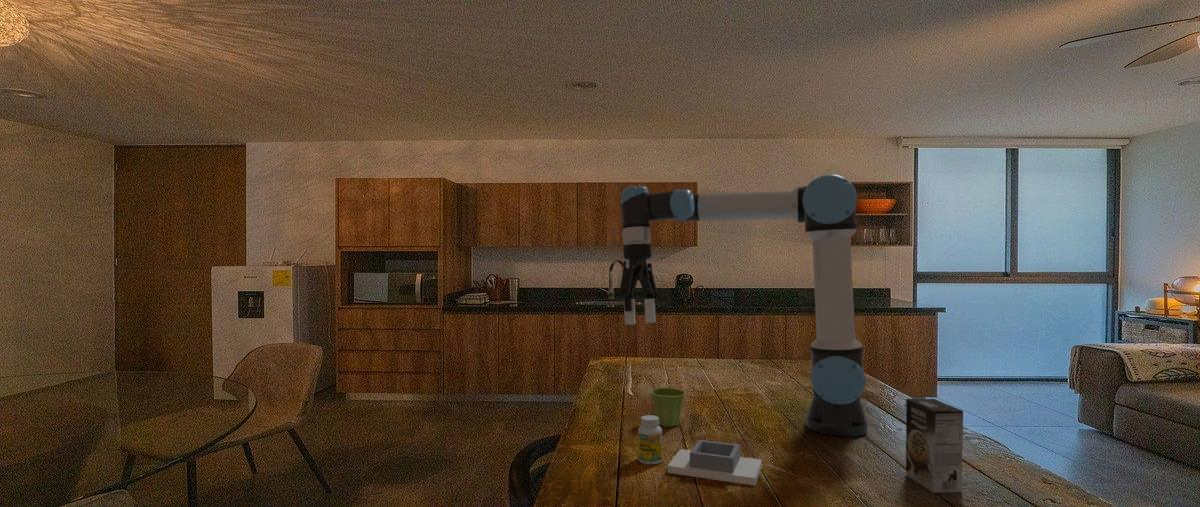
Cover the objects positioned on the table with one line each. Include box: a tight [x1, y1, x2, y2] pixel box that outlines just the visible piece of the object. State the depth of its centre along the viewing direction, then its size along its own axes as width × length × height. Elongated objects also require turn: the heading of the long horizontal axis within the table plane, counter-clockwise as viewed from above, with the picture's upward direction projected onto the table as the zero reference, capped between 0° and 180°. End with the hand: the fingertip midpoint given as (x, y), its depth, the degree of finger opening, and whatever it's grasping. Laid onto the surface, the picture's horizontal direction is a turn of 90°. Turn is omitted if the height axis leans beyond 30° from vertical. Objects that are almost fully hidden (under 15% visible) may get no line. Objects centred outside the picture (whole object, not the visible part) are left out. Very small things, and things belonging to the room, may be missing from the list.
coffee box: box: [905, 397, 964, 494], centre depth 119 cm, size 9×6×16 cm
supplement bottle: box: [637, 414, 663, 465], centre depth 132 cm, size 5×5×10 cm
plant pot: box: [650, 387, 687, 428], centre depth 159 cm, size 9×9×9 cm
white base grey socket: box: [667, 439, 763, 487], centre depth 126 cm, size 18×11×4 cm, turn 68°
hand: (640, 323), depth 158 cm, fingers open, 13 cm apart
